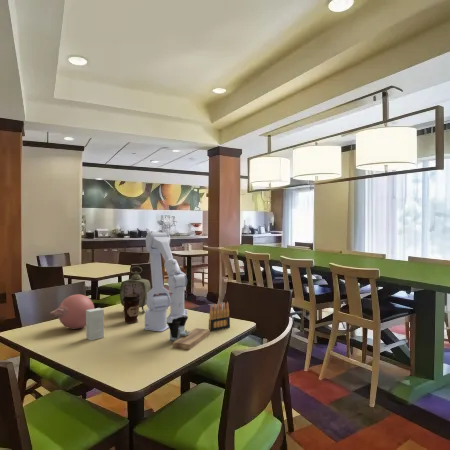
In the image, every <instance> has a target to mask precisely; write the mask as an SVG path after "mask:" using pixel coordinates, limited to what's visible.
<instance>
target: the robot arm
mask: <svg viewBox="0 0 450 450" xmlns="http://www.w3.org/2000/svg"><path fill="white" fill-rule="evenodd" d="M145 236H146V237H145V248H146V251H147V252H148V253H149V262H150V271H151V272H150V273H151V275H150V276H151V285H152V286H151V287H152V288H151V290H150V291H149V292H148V293H147V300H146V303H147V304H146V308H147V309H146V310H145V313H144V328H143V330H146V331H153V332H165V331H166V330H167V329H169V333H170V332H171V336H172V337H173V338H177V335H178V328H179V326H185V325H186V322H187V321H188V319H189V316H188V309H185V288H186V287H187V285H188V278H187V274H186V273H184V271H182V270H181V268H180V266H179V263H178V260H177V259H175V258H174V257H173V254H172V253H173V252H172V249H171V246H170V244H171V235H170V234H169V232H168V231H165V232H164V231H163V232H149V231H148V233H147V234H146V235H145ZM162 258H163V260H164V261H165V262H164V265H163V266H164V269H165V272H166V274H167V277H168V279H167V285H168V288H169V290H168V289H167V288H165V287H164V278H163V269H162ZM169 307H170V313H169V314H168V315H167V310H168V309H169Z"/></svg>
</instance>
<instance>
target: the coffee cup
mask: <svg viewBox="0 0 450 450" xmlns="http://www.w3.org/2000/svg"><path fill="white" fill-rule="evenodd" d="M139 297H140V295H137V294H129V295H125V297H124V298H123V304H124V306H123V310H124V312H123V315H124V317H123V318H124V323H125V324H135V323H137V322H139V318H138V316H139V315H140V314H139V313H140V312H139V311H140V307H139V301H140V298H139Z"/></svg>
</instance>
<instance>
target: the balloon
mask: <svg viewBox="0 0 450 450" xmlns="http://www.w3.org/2000/svg"><path fill="white" fill-rule="evenodd" d="M90 309H95V304H94V302H93V300H92V299H91V298H90V297H88V296H87V295H84V294H80V293H78V294H72V295H69V296H67V297H66V298H64V300H62V302H61V303H60V304H59V307H56V309H55V310H53V311H50V312H49V313H50V315H54V316H55V317H56V318H58V320H59V322H60V323H61V325H63V326H64V327H66V328H67V329H70V330H72V329H73V330H78V329H81V328H85V327H86V310H90Z"/></svg>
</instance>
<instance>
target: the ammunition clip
mask: <svg viewBox="0 0 450 450" xmlns="http://www.w3.org/2000/svg"><path fill="white" fill-rule="evenodd" d="M229 305H230V304H229V302H228V301H226V303H225V301H224V302H223V303H222V302H220V304H219V303H217V304H216V303H213V305H212V303H211V304H210V306H209V307H210V308H209V318H208V330H210V332H214V331H220V330H224V329H229V328H231V322H230V321H231V319H230V308H229Z"/></svg>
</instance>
